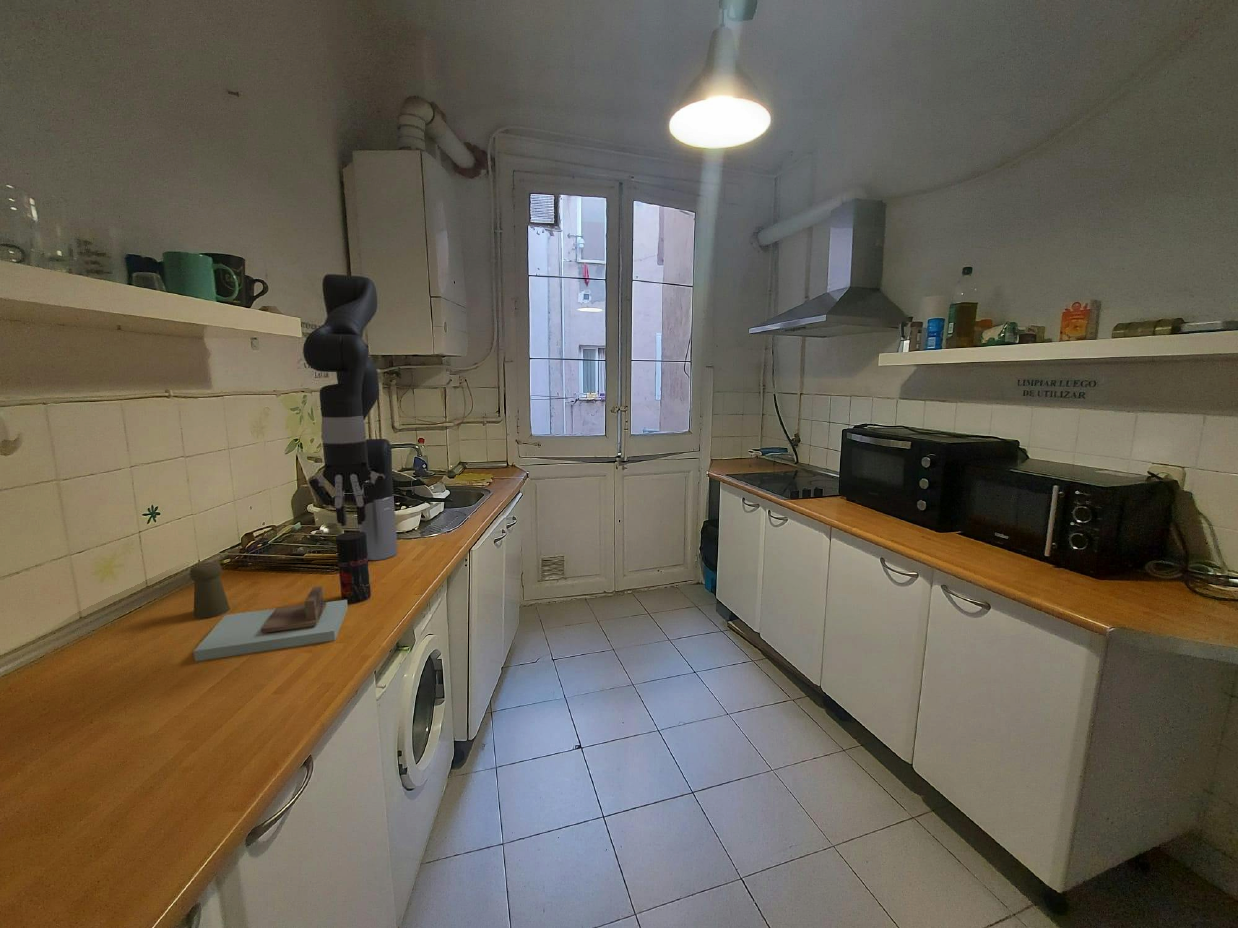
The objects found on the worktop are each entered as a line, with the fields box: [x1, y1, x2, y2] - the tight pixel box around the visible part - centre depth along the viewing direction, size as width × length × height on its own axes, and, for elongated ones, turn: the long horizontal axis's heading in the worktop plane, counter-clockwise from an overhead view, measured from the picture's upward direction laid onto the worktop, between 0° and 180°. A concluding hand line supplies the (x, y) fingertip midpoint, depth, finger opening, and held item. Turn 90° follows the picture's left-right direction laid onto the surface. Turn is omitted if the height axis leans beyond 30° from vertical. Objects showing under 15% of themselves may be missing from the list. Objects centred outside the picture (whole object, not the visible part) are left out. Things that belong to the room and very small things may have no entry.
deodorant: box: [335, 531, 372, 605], centre depth 111 cm, size 6×6×15 cm
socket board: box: [193, 599, 349, 662], centre depth 97 cm, size 14×22×2 cm, turn 110°
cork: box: [189, 561, 231, 620], centre depth 103 cm, size 6×6×11 cm
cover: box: [261, 585, 327, 633], centre depth 97 cm, size 9×9×5 cm
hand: (352, 523), depth 98 cm, fingers open, 2 cm apart
